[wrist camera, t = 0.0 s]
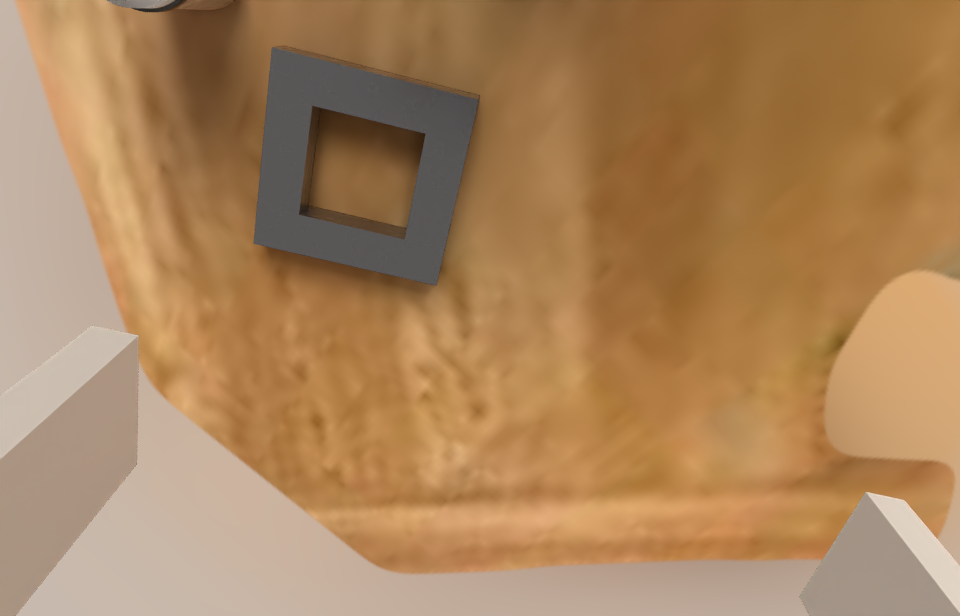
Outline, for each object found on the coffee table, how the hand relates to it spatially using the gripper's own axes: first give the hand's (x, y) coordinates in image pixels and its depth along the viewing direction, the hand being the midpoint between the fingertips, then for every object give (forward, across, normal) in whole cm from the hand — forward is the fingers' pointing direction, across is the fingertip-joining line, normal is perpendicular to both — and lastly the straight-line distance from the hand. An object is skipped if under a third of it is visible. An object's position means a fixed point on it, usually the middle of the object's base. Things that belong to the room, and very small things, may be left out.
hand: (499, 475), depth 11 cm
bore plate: (+28, -7, -2) cm, 29 cm away
